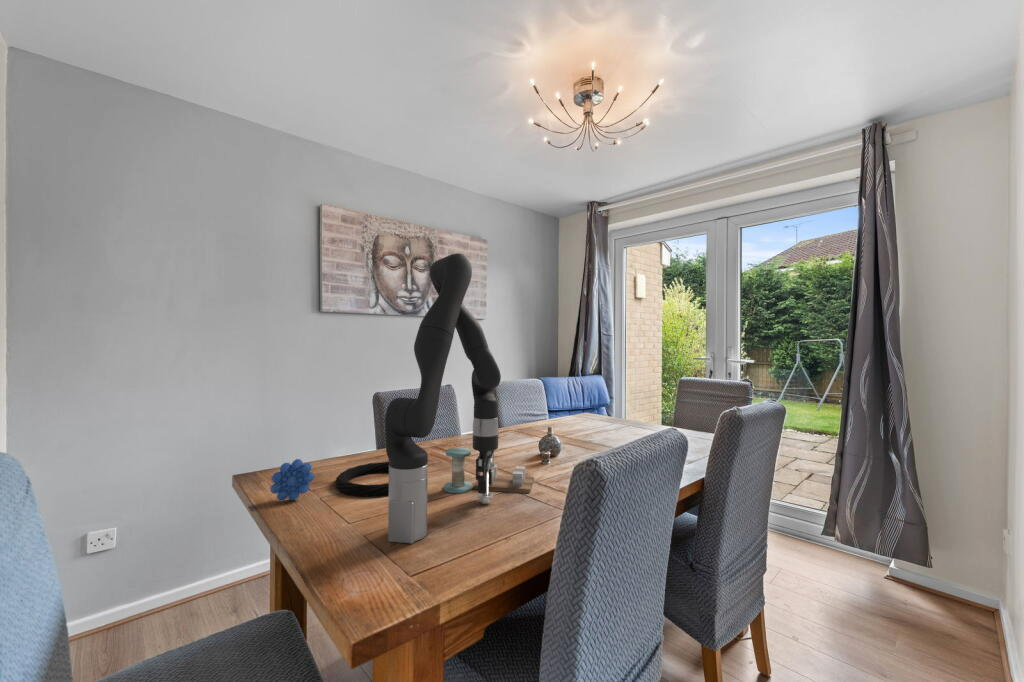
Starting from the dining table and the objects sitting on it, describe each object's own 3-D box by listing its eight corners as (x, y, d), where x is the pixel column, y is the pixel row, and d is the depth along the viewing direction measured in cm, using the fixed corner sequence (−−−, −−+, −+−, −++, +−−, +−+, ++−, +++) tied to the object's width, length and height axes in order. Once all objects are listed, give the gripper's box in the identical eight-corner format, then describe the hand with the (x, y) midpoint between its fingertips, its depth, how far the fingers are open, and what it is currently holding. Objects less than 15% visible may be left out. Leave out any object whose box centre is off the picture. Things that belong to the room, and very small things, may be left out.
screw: (476, 499, 131) (492, 499, 132) (477, 505, 126) (494, 505, 127) (476, 456, 131) (492, 455, 132) (478, 460, 126) (494, 460, 127)
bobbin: (468, 494, 135) (468, 455, 135) (440, 492, 137) (440, 453, 137) (475, 484, 144) (475, 448, 144) (448, 482, 146) (449, 446, 146)
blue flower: (316, 493, 135) (316, 454, 135) (313, 501, 128) (313, 460, 128) (273, 497, 131) (273, 457, 131) (268, 505, 125) (268, 463, 125)
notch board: (529, 493, 137) (530, 476, 137) (473, 489, 140) (473, 473, 140) (533, 480, 149) (534, 465, 149) (481, 477, 152) (481, 462, 152)
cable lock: (317, 484, 133) (361, 457, 163) (317, 497, 133) (361, 467, 163) (406, 488, 130) (434, 460, 160) (406, 501, 131) (434, 470, 160)
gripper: (493, 438, 121) (492, 498, 122) (502, 428, 136) (501, 481, 136) (466, 437, 122) (466, 496, 123) (478, 427, 137) (478, 479, 137)
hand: (485, 488), depth 129 cm, fingers open, 7 cm apart
